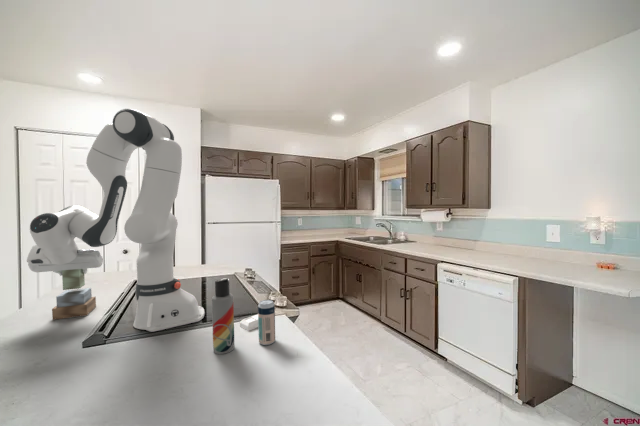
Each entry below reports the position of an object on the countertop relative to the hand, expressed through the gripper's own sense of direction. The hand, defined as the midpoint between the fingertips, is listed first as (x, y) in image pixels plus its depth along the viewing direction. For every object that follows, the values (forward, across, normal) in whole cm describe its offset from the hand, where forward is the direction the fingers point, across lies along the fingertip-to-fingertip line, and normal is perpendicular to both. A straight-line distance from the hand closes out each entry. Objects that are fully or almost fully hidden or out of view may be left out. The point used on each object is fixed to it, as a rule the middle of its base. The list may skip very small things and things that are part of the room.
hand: (74, 273), depth 109 cm
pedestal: (+10, 0, +11) cm, 15 cm away
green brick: (+3, 0, +4) cm, 5 cm away
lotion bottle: (-26, -50, +48) cm, 74 cm away
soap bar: (-17, -61, +39) cm, 75 cm away
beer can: (-27, -62, +48) cm, 83 cm away
